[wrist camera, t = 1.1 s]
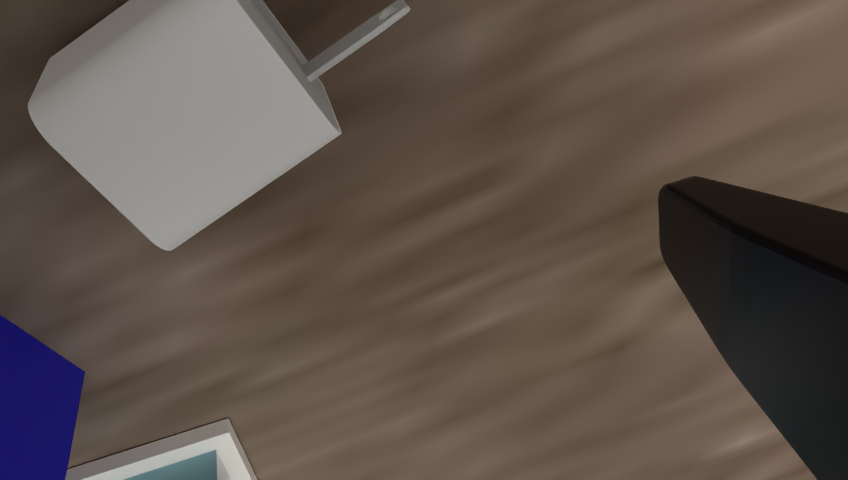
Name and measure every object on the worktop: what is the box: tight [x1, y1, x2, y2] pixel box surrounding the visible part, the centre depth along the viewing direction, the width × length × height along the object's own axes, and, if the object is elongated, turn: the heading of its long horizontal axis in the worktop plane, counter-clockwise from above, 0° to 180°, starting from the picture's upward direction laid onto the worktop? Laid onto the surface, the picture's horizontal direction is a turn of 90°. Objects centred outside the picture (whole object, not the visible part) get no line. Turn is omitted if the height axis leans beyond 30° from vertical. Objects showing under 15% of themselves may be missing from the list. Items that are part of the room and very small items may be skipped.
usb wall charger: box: [28, 0, 410, 251], centre depth 17 cm, size 4×7×4 cm, turn 121°
